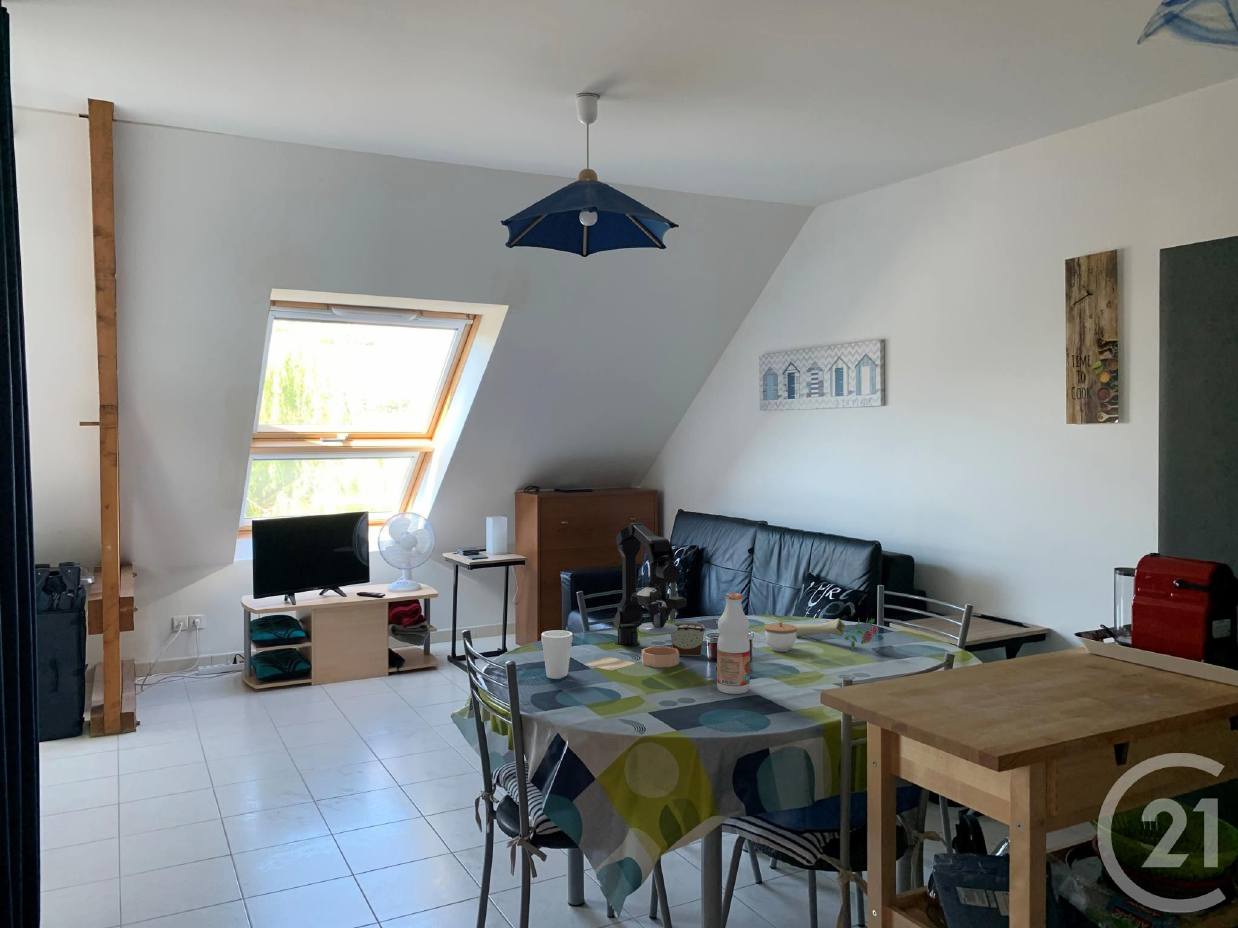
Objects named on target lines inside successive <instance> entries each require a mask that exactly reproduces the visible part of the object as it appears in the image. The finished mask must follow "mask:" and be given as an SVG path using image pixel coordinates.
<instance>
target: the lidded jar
mask: <svg viewBox="0 0 1238 928" xmlns="http://www.w3.org/2000/svg"><path fill="white" fill-rule="evenodd" d="M793 625H794V624H788V623H783V622H782V621H779V623H769V624H766V625H765V626H764V636H765V640H766V643H767V645H768V646H769V648H771V650H772V651H773V652H780V653H781V652H783V653H784V652H789V651H790V650H791V649H792V648H793V646H794V645H795V643H796V639H797V637H796V631H797V628H796V627H795V626H793Z"/></svg>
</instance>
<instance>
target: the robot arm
mask: <svg viewBox="0 0 1238 928" xmlns="http://www.w3.org/2000/svg"><path fill="white" fill-rule="evenodd" d="M615 537H616V538H615V543H616V546H617V550H618V552H619V554H620V555H621V559H622V560H621V561H622V566H621V567H622V568H621V570H622V573H621V574H622V577H621V580H622V586H621V587H622V590H621V591H622V597H621V600H620V601H619V603H618V604H617V612H616V614H615V615H614V618H613V619H612V622H613V627H614V628H616V629H617V642H614V644H615V645H619V646H623V647H635V646H637V645H640V644H641V642H640V641H639V640H638V639H639V638H638V635H639V633H638V628H639V626H640V625H642V623H643V615H644V614H643V611H642V607H643V608H645V609H646V611H647V613H648V615H649V617H650V621H651V623H652V624H653V626H654V614H660V625H661V627H664V625H665V623H667V621H668V618H669V616H670V614H671V613H672V611H673V610H678V609H681V608H686V607H687V599H686V598H685V597H683V596H672V597H670V596H671V593H669V592H668V585H670V584H675V583H677V582H678V581H679V579H680V576H681V571H680V569H679V568H678V566H676V565H675V562H676V554H675V552H674V549H673V547H672V543H671V542H670V540H669V539H668V538H666V537H663V536H658V535H656V534H654V533H653V532H652V531H651V530H650V529H649V528H648V527H646V524H645V523H643V522H632V523H629V524H628V526H626V527H624V528H623V529H621V530H619V532H618V533H617V535H616V536H615ZM642 545H643V546H644V547H645V550H644V552H645V553H646V555H647V556H648V560H647V562H648V563H649V580H648V581H646V586H645V587H644V588H642V589H641V590H640V591H637V557H638V555H639V553H640V551H641V549H642V547H641V546H642ZM660 604H661V606H660Z"/></svg>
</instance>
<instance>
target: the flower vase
mask: <svg viewBox="0 0 1238 928" xmlns="http://www.w3.org/2000/svg"><path fill="white" fill-rule="evenodd" d="M868 620H869V619H868V617H867V618H866V622H865V623H864V624H863V625H862V626H860V627H859V628H858V626H859V625H860V622H861V621H860V618H859V617H858V621H857V622H858V624H857V623H856V624H855V625H854V627H855V630H851V629H849V630H845V629H846V627H847V626H846V624H845V623H844V622H843V621H842V620H841V619H840V618H836V619H833V620H830V621H827V622H824V623H822V622H821V623H793V624H792V625H793V626H795V627H796V628H797V631H796V638H799V637H805V636H806V637H807V636H813V635H819V634H821V635H822V634H827V635H828V634H829V635H834V636H835V635H836V636H841V637H843V636H844V633H845V632H846V633H847V636H845V637H844V640H846V641H850V651H851V652H852V651H853V650H854V648H855V645H856V643H857V642H858V641H857V637H856V636H854V635H850V634H848V633H851V634H852V633H853V634H858V635H860V636H861V635H862V636H861V642H860V644H861V645H862V644H863V645H864V644H868V643H870V642H872V640H873V636H874V635H876V634H877V632H878V630H879V628H878V626H877V624H874V623H875V618H872V617H871V619H870V620H869V621H868ZM873 624H874V625H873ZM865 625H866V626H865ZM868 625H872V626H870V628H869V629H868V628H867V627H868ZM864 626H865V627H864ZM850 637H851V638H850ZM850 639H852V640H853V641H852V640H850Z"/></svg>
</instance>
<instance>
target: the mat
mask: <svg viewBox="0 0 1238 928" xmlns="http://www.w3.org/2000/svg"><path fill="white" fill-rule="evenodd" d="M635 664H637V662H633V661H629V660H624V659H620V658H616V657H611V656H606V657H603V658H599V659H596V660H593V661H590V662H585V663H584V664H583V665H585V666H589V667H593V668H597V669H602V670H606V671H609V672H615V671H616V670H620V669H622V668H626V667H629V666H633V665H635Z"/></svg>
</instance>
